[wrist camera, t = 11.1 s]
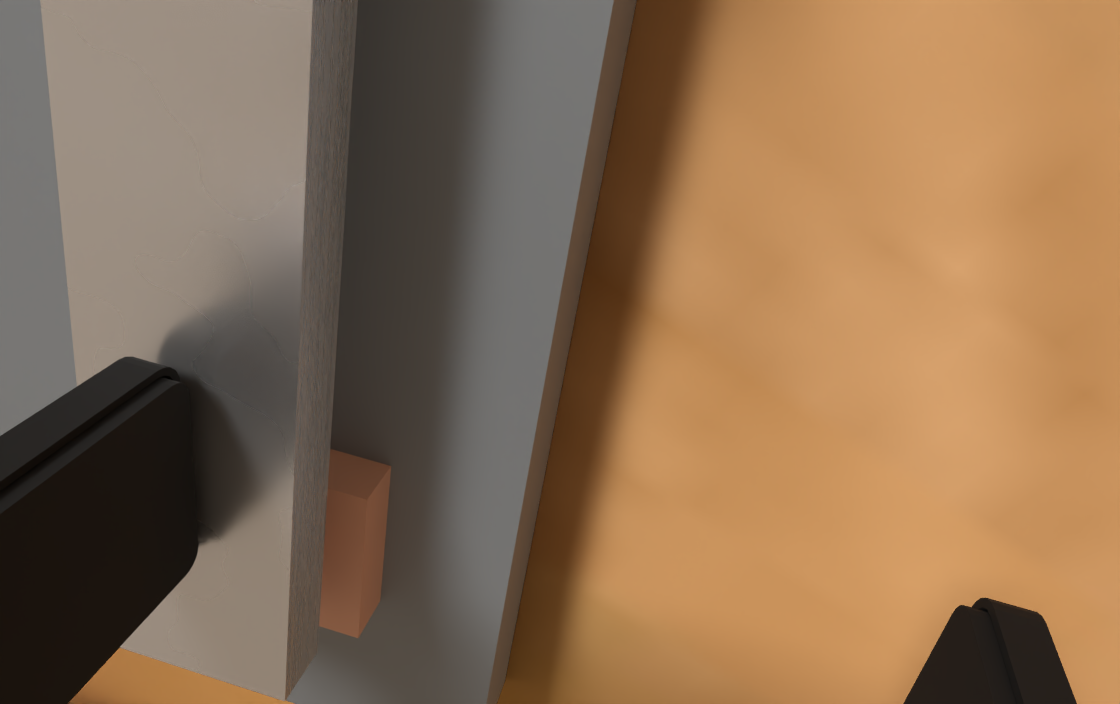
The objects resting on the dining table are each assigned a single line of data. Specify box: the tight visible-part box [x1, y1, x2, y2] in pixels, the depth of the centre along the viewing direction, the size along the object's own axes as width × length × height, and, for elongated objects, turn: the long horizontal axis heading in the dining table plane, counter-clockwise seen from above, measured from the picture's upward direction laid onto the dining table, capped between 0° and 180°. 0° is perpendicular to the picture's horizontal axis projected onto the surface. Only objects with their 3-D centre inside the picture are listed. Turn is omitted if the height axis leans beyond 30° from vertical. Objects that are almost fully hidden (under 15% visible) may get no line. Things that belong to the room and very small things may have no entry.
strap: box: [40, 0, 358, 701], centre depth 9 cm, size 17×3×2 cm, turn 170°
